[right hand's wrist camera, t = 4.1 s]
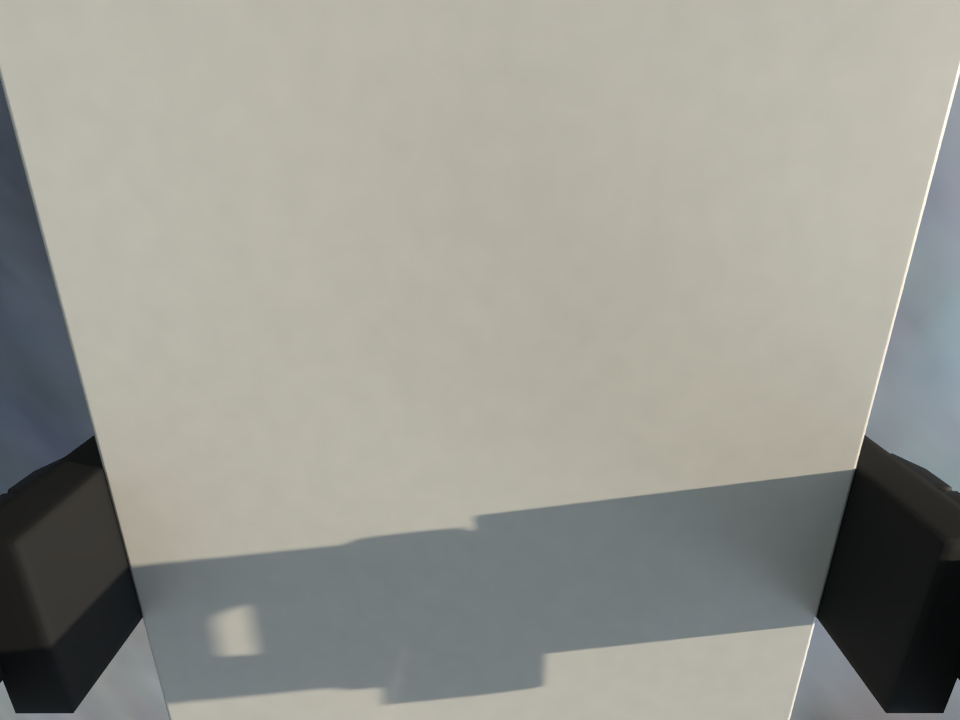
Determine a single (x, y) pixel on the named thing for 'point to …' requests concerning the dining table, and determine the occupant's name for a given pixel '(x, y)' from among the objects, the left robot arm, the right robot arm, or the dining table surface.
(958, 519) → the right robot arm
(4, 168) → the dining table surface
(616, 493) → the cabinet
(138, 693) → the dining table surface
